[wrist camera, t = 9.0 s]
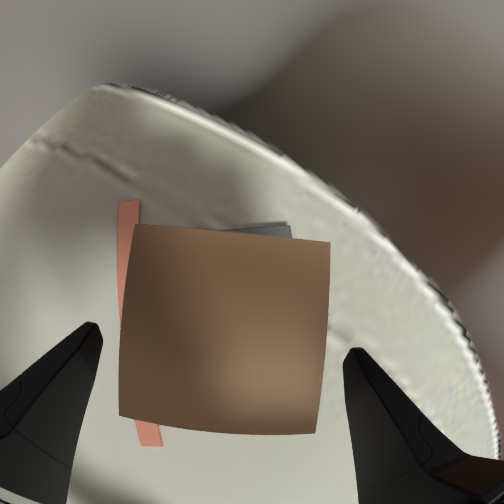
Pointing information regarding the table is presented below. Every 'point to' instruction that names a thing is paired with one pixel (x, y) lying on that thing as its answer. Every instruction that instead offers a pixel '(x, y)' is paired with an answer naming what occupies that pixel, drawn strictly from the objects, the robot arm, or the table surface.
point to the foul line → (126, 224)
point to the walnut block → (223, 331)
